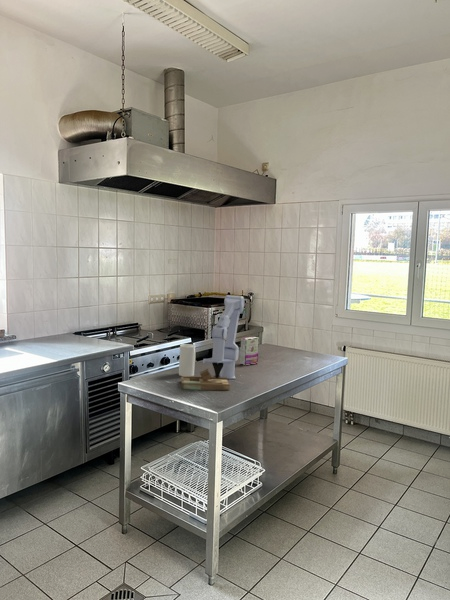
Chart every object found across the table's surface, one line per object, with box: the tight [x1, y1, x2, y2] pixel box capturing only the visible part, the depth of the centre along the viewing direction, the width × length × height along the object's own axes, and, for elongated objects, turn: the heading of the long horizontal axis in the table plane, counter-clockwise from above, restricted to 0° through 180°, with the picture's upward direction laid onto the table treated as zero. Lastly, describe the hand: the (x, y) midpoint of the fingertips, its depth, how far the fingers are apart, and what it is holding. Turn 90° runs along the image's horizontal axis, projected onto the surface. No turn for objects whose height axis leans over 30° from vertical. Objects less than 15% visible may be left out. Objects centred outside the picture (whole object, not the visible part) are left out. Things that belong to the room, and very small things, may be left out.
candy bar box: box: [239, 336, 260, 365], centre depth 270 cm, size 11×5×16 cm, turn 131°
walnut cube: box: [199, 368, 212, 381], centre depth 222 cm, size 4×4×4 cm
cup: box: [178, 343, 196, 377], centre depth 238 cm, size 8×8×16 cm
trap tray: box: [180, 376, 231, 391], centre depth 219 cm, size 13×23×3 cm, turn 97°
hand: (216, 377), depth 223 cm, fingers closed
